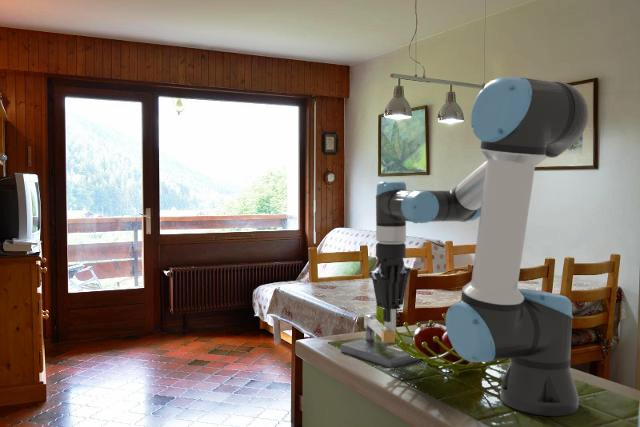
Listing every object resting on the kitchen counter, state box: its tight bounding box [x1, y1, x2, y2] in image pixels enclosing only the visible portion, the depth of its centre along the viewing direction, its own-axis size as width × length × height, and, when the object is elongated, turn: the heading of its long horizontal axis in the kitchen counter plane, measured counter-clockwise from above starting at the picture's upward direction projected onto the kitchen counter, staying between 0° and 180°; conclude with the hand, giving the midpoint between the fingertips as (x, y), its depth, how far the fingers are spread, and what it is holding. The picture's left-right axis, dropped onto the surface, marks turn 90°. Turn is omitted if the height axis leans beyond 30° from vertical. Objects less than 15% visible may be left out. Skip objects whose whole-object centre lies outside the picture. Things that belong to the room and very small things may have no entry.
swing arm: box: [363, 313, 395, 343], centre depth 153 cm, size 20×3×4 cm, turn 10°
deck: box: [340, 329, 419, 369], centre depth 154 cm, size 18×12×5 cm, turn 40°
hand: (389, 333), depth 151 cm, fingers closed
